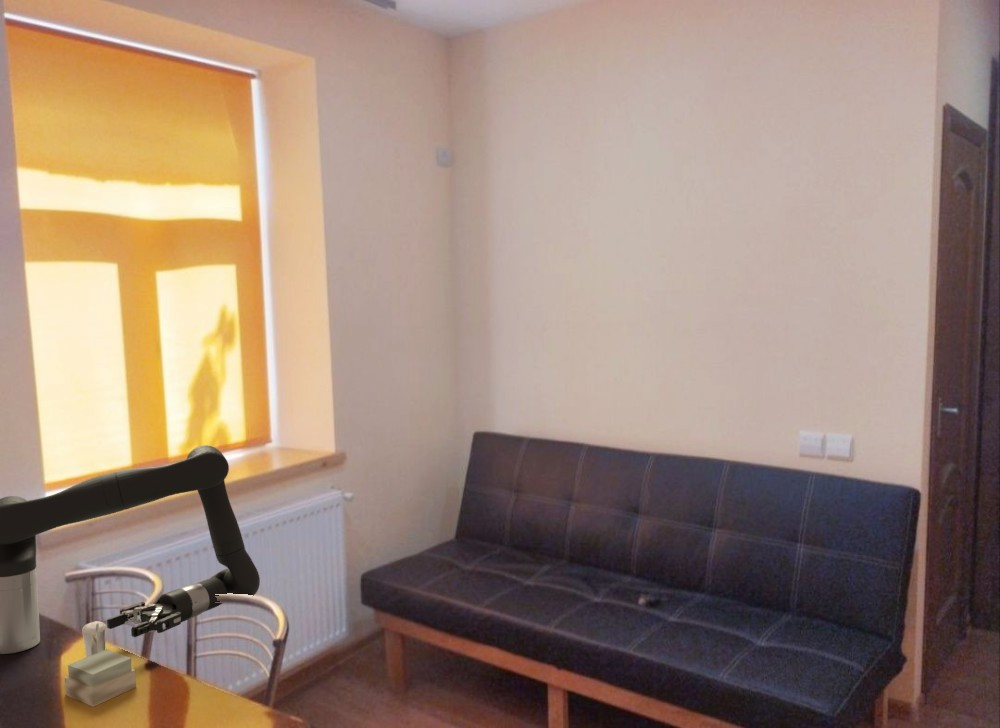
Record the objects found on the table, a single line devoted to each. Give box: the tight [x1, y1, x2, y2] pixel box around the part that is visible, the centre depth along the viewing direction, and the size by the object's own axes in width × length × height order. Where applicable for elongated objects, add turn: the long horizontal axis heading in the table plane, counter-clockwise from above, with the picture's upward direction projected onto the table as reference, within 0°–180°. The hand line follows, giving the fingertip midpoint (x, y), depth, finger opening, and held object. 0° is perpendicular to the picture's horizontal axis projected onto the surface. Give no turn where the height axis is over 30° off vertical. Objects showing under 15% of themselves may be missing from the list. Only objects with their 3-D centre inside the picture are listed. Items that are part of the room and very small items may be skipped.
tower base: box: [64, 648, 137, 708], centre depth 156 cm, size 9×9×6 cm
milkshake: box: [81, 620, 107, 658], centre depth 166 cm, size 4×5×10 cm
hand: (120, 628), depth 171 cm, fingers open, 8 cm apart
